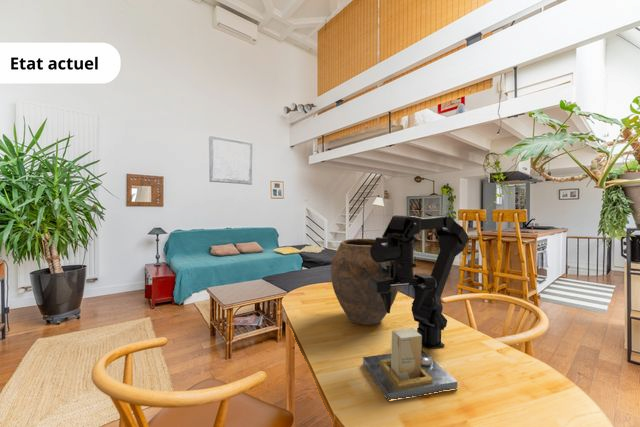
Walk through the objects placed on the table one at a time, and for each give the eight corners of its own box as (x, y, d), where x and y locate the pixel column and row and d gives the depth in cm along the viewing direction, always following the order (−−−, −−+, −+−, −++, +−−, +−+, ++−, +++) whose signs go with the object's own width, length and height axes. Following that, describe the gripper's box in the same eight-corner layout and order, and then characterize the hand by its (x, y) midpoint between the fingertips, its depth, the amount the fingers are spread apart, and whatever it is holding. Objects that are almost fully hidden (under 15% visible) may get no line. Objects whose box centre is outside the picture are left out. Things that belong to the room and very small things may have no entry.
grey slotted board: (420, 356, 81) (421, 345, 81) (457, 389, 66) (457, 377, 66) (363, 364, 77) (363, 353, 77) (388, 402, 62) (388, 389, 62)
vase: (322, 328, 99) (321, 244, 98) (340, 303, 124) (340, 236, 122) (398, 340, 90) (398, 248, 89) (401, 310, 115) (402, 238, 114)
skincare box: (398, 387, 67) (399, 338, 67) (389, 376, 71) (390, 330, 71) (422, 383, 69) (422, 335, 68) (411, 372, 73) (412, 327, 73)
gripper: (415, 252, 91) (415, 299, 91) (362, 255, 86) (362, 304, 87) (437, 259, 80) (437, 312, 80) (378, 262, 75) (377, 319, 76)
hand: (402, 311), depth 81 cm, fingers open, 9 cm apart
